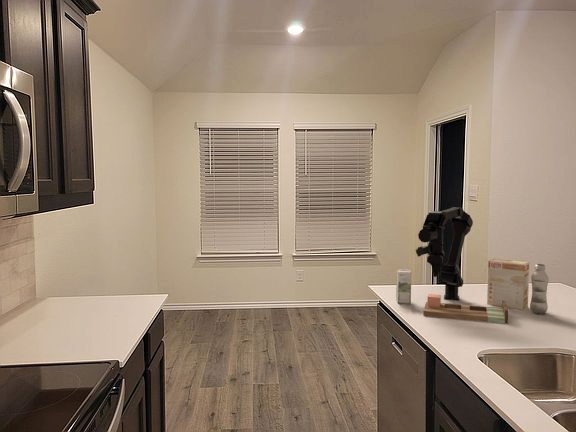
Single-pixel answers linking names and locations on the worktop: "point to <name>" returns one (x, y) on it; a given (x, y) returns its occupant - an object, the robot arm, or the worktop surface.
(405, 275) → the syrup box
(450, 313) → the board
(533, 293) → the plastic bottle
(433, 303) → the coral block
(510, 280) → the coffeecake box
